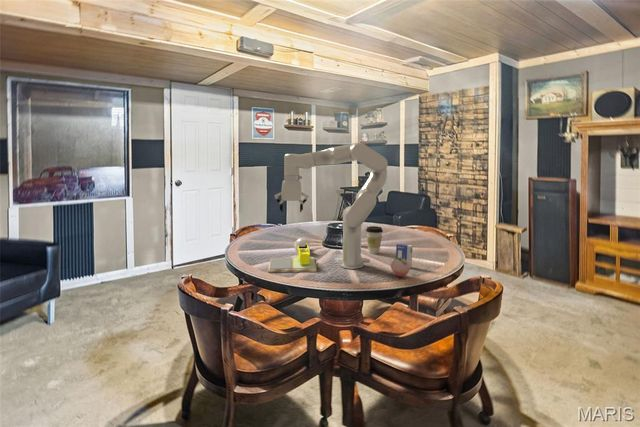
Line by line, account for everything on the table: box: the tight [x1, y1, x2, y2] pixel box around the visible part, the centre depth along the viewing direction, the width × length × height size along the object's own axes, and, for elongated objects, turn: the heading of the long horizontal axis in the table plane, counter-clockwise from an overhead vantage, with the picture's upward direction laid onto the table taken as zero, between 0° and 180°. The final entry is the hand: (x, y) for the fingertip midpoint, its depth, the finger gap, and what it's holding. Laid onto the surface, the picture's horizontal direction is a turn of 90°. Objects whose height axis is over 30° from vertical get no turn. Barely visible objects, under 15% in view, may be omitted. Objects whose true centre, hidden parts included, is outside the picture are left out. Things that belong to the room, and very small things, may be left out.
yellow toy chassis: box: [296, 243, 311, 265], centre depth 208 cm, size 16×6×8 cm, turn 8°
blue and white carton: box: [395, 243, 414, 269], centre depth 204 cm, size 8×3×12 cm, turn 61°
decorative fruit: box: [390, 257, 411, 278], centre depth 188 cm, size 9×8×10 cm
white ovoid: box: [293, 237, 311, 252], centre depth 232 cm, size 9×10×15 cm
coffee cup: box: [365, 225, 384, 255], centre depth 231 cm, size 10×10×15 cm
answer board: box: [267, 256, 317, 273], centre depth 206 cm, size 24×22×2 cm
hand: (291, 211), depth 201 cm, fingers open, 9 cm apart
